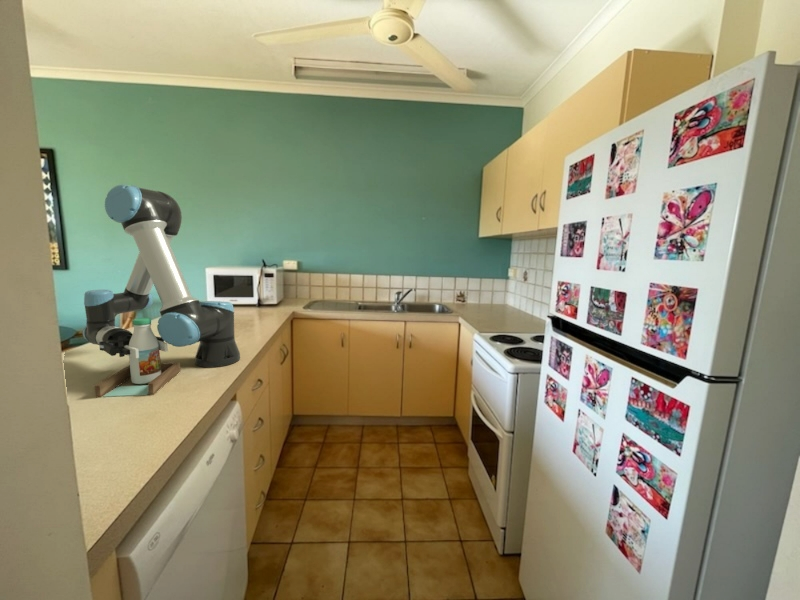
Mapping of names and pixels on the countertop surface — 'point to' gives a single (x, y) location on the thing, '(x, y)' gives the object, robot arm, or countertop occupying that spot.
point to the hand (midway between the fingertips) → (152, 350)
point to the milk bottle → (144, 353)
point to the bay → (113, 381)
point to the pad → (128, 391)
